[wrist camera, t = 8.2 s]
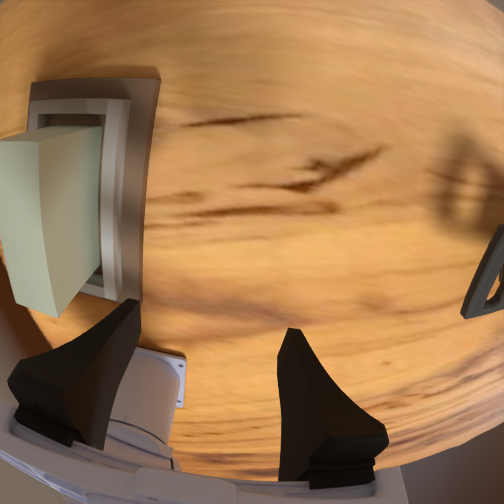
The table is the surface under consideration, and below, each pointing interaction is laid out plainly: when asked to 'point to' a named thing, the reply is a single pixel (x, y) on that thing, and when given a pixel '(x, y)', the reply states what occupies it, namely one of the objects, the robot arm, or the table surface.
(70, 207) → the pale green block
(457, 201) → the table surface
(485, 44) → the table surface
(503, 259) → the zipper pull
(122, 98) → the plate
